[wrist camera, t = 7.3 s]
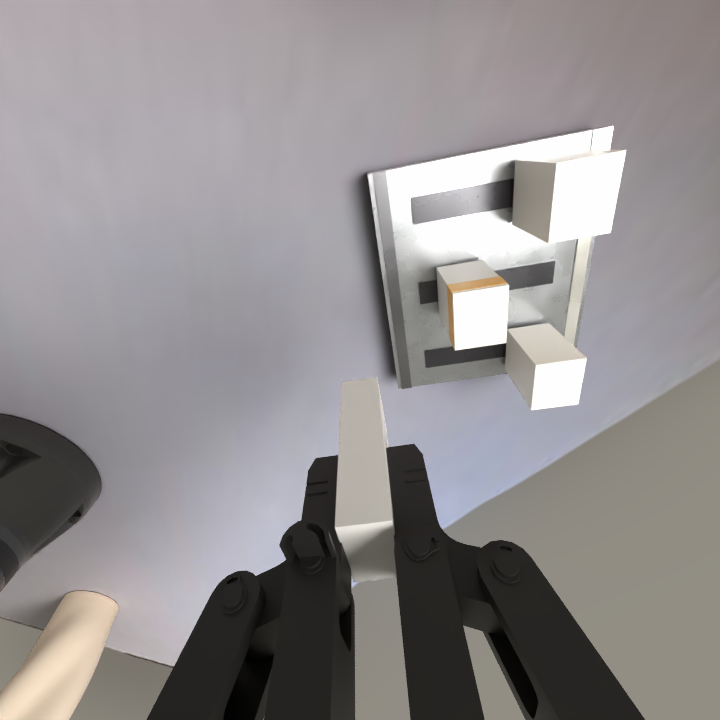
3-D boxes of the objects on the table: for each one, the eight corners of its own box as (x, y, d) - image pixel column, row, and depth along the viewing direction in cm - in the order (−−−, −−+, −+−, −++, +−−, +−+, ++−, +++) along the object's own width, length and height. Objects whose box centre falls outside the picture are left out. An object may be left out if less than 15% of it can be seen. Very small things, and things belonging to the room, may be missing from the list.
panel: (396, 375, 31) (398, 389, 29) (367, 172, 23) (367, 174, 21) (561, 351, 30) (574, 365, 28) (593, 127, 21) (614, 126, 20)
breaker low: (504, 369, 28) (531, 410, 23) (506, 329, 26) (535, 365, 22) (544, 364, 27) (578, 404, 23) (549, 322, 26) (586, 358, 21)
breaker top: (511, 224, 22) (548, 243, 18) (515, 159, 20) (556, 163, 16) (561, 216, 22) (610, 232, 17) (569, 149, 20) (626, 149, 16)
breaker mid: (438, 316, 25) (454, 350, 21) (435, 267, 23) (452, 293, 19) (481, 309, 25) (506, 343, 21) (482, 259, 23) (509, 284, 19)
